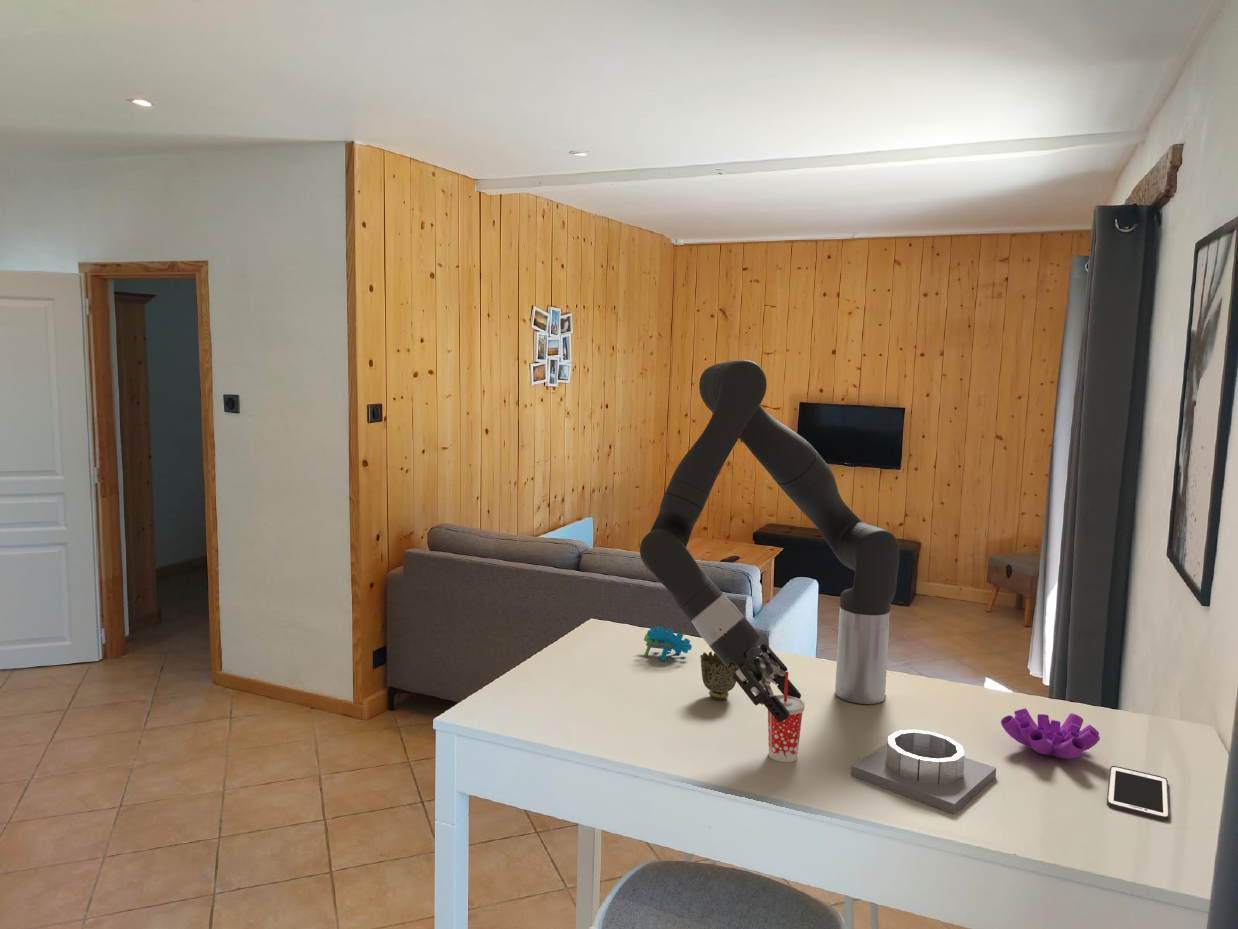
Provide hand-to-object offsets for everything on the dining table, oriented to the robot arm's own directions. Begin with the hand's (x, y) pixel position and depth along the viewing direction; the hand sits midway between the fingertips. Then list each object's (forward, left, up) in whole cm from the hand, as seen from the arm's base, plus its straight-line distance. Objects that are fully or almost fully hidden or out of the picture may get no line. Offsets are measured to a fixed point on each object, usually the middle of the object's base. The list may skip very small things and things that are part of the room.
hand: (791, 709), depth 136 cm
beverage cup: (0, -1, -8) cm, 8 cm away
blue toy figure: (-22, -45, -8) cm, 51 cm away
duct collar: (-10, +18, -6) cm, 21 cm away
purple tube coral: (-33, +29, -8) cm, 44 cm away
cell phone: (-28, +43, -9) cm, 52 cm away
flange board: (-10, +18, -8) cm, 22 cm away
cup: (-12, -23, -8) cm, 27 cm away
